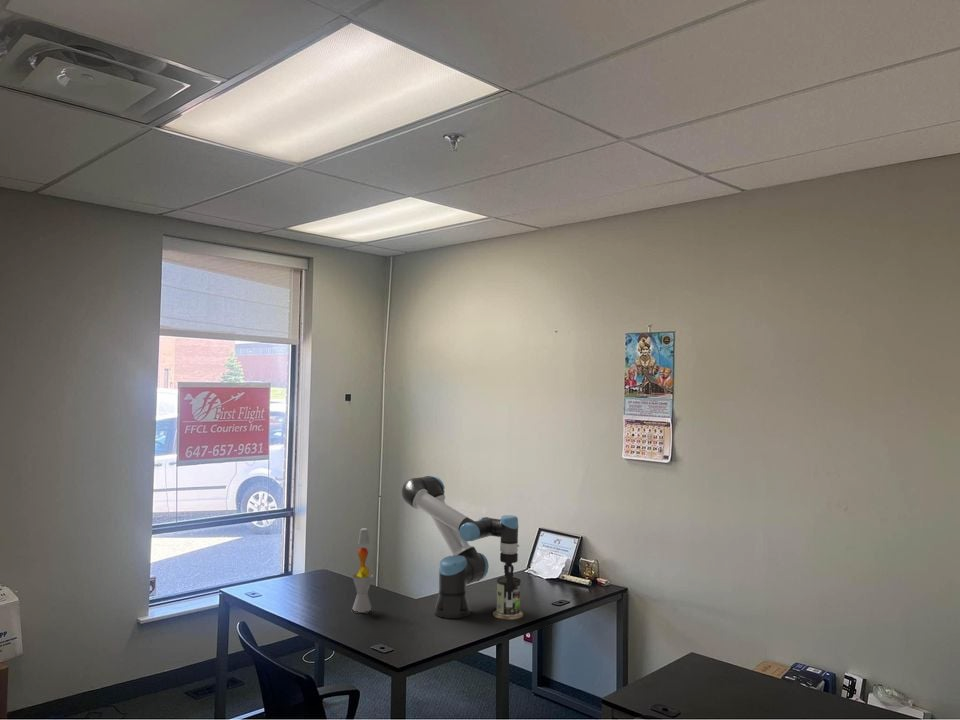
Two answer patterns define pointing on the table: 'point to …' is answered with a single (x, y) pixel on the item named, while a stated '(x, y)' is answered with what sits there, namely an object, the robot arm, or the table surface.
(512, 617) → the cork mat
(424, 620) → the table surface
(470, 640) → the table surface
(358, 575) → the lava lamp
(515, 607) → the coffee can
